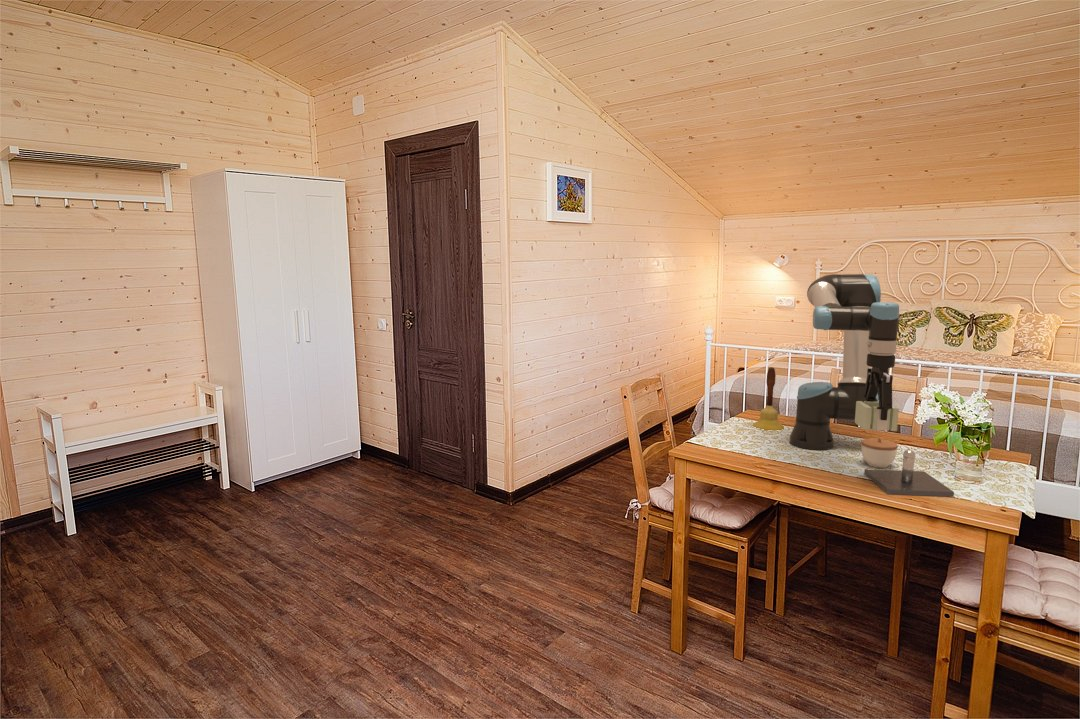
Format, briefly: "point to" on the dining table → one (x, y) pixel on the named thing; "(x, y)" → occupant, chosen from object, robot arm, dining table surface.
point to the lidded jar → (878, 452)
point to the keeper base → (908, 487)
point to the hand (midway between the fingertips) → (875, 426)
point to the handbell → (769, 407)
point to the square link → (874, 416)
